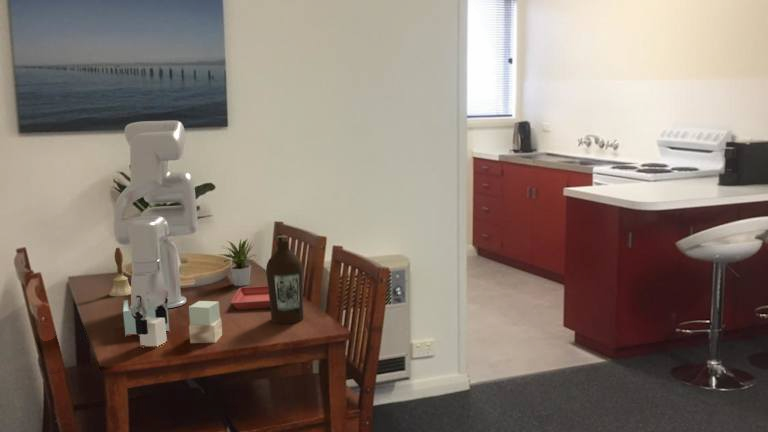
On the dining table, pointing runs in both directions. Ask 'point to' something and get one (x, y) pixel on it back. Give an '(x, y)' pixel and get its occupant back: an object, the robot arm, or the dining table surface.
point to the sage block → (204, 313)
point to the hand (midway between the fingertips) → (152, 328)
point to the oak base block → (205, 332)
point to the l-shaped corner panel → (130, 322)
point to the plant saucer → (252, 298)
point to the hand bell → (120, 278)
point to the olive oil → (285, 284)
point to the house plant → (239, 263)
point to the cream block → (154, 332)
